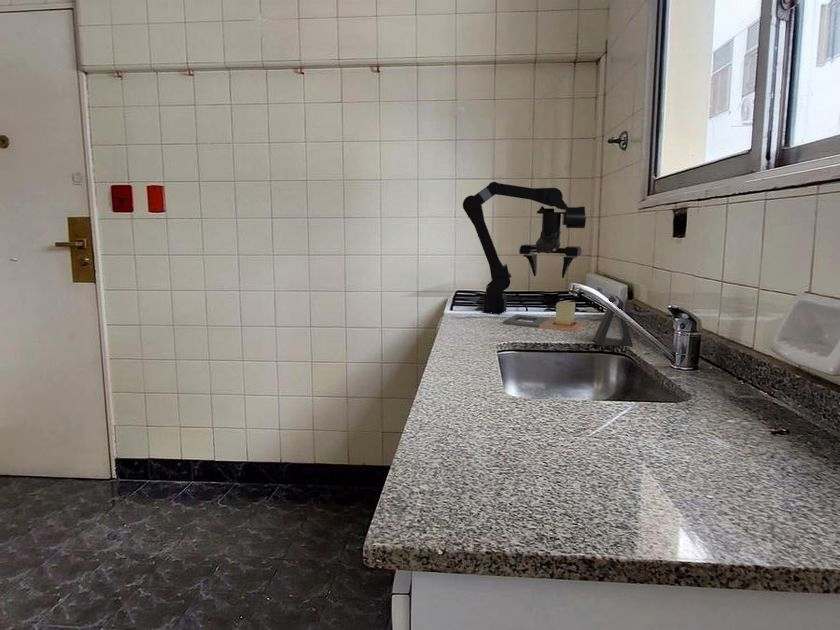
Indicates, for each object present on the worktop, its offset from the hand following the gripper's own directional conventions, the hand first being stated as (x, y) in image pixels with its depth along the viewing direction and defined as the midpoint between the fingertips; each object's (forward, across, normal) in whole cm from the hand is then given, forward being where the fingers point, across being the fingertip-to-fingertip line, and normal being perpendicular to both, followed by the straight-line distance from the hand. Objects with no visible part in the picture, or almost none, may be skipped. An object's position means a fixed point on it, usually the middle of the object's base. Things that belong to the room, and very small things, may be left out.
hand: (548, 277), depth 181 cm
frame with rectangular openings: (+12, +4, -16) cm, 20 cm away
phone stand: (+12, +26, -30) cm, 42 cm away
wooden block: (+12, +10, -16) cm, 22 cm away
